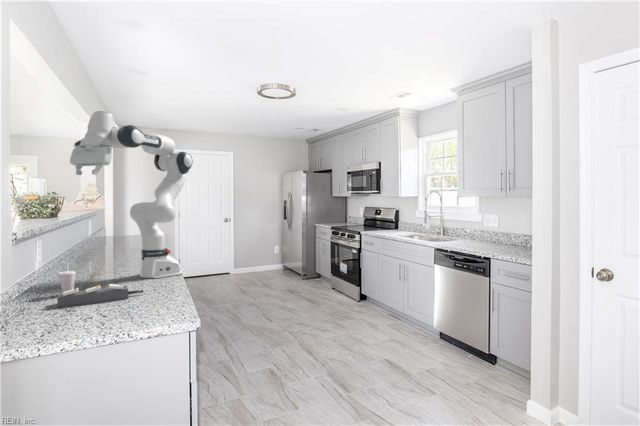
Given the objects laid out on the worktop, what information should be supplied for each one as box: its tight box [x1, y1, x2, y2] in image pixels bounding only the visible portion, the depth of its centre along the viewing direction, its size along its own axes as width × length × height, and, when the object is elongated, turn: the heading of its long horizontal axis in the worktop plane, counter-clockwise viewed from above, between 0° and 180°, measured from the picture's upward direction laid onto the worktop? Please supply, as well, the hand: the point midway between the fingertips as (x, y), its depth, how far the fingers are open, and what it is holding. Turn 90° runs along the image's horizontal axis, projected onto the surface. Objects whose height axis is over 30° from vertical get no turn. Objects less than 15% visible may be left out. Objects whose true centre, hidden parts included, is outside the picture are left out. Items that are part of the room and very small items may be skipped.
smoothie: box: [57, 262, 77, 293], centre depth 159 cm, size 6×6×14 cm
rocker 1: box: [63, 287, 80, 296], centre depth 144 cm, size 5×3×1 cm, turn 121°
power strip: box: [56, 285, 144, 309], centre depth 151 cm, size 30×7×4 cm, turn 121°
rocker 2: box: [85, 285, 102, 293], centre depth 148 cm, size 5×3×1 cm, turn 120°
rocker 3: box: [108, 283, 124, 289], centre depth 152 cm, size 5×3×1 cm, turn 122°
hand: (86, 174), depth 158 cm, fingers open, 8 cm apart
